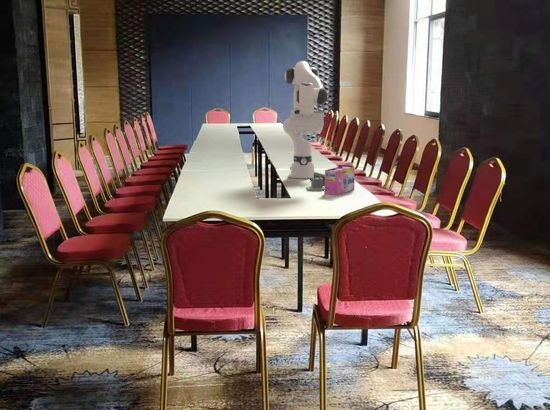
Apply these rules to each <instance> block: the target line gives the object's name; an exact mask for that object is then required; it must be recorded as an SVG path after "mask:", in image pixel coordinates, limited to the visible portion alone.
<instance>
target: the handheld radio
mask: <svg viewBox="0 0 550 410" xmlns="http://www.w3.org/2000/svg"><path fill="white" fill-rule="evenodd" d="M319 177H322V178H323V186H325V173H320V172H316V171H314V177H313V178H319ZM309 181H311V178H309Z"/></svg>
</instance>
